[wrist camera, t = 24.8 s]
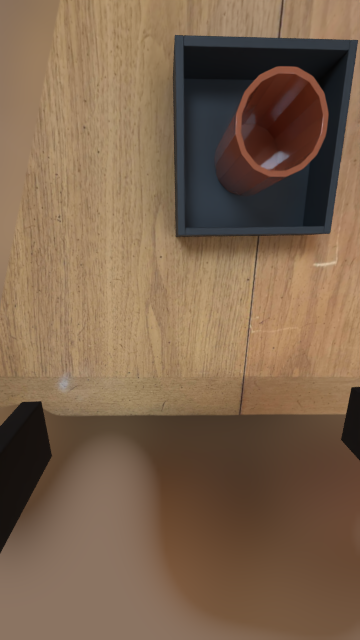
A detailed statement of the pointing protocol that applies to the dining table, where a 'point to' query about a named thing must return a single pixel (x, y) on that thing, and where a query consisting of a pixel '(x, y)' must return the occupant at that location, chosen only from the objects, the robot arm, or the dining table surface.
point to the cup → (272, 131)
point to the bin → (214, 114)
